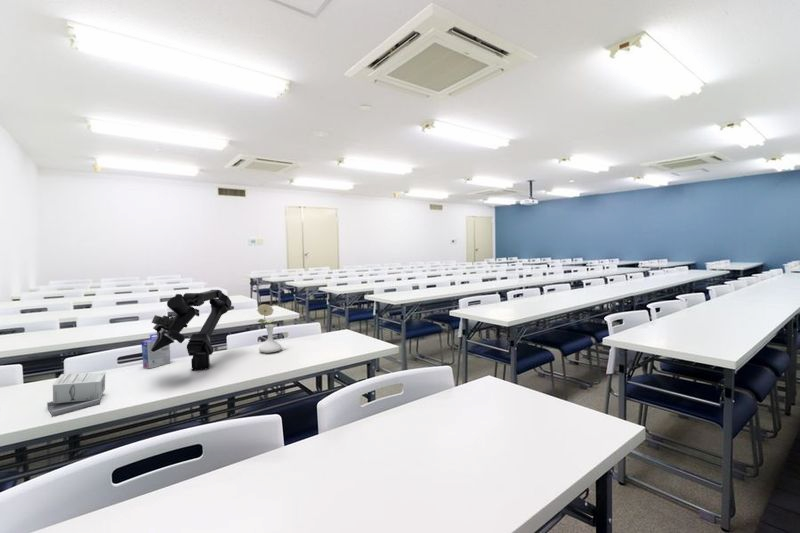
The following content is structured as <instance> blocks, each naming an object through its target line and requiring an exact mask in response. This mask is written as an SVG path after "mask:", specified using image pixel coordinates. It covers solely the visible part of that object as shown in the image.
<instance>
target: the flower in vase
mask: <svg viewBox="0 0 800 533" xmlns="http://www.w3.org/2000/svg"><path fill="white" fill-rule="evenodd" d="M256 311H257V312H258V314H259V315H260V316H264V319H263V318H260V319H259V320H258V321H257V323H260V324H261V323H262V324H263V323H266V324H265V325H264V327H265V328H266V331H267V339H266V341H264V342H263V343H262V344H261V345H260V346H259V347H258V351H259V352H261V353H267V354H269V353H276V352H279V351H280V350H281V349H282V348H283V346H282V345H281V344H280V343H279V342H277V341H276V340H275V339H274V337H273V332H274V331H273V330H274V327H275V326H276V325H275V324H270V323H273V321H275V318H273V319H271V320H269V321H267V320H266V317H268V316H271V315H273V313H274V309H273V306H272V305H269V304H261V305H258V307H257V310H256Z"/></svg>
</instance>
